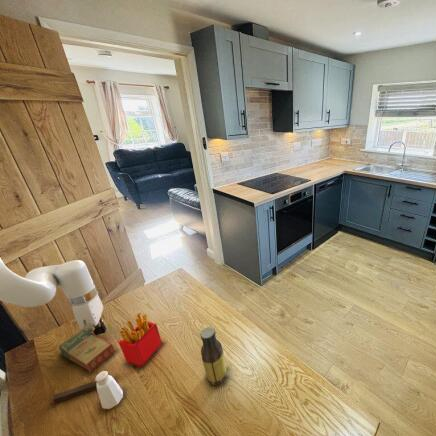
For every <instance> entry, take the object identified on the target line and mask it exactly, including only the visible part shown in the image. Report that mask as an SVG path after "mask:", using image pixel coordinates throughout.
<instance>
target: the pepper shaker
mask: <svg viewBox="0 0 436 436" xmlns="http://www.w3.org/2000/svg"><path fill="white" fill-rule="evenodd" d="M112 376H113V375H110V374H109V371H107V370H103V371H100V372H99V373H98V374H97V375H96V376H95V379H94V381H97V389H96V390H97V391H96V392H97V395H98V398H99V401H100V405H101V408H102V409H104V410H105V409H106V410H110V409H112V408H114V407H116V406H118V405H119V404H120V402H121V400H122V399H123V398H124V392H123V389H122V387H121V386H120V385H119V384H118V382H117V381H116V379H115V378H114V376H113V377H112Z"/></svg>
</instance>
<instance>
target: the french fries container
mask: <svg viewBox="0 0 436 436" xmlns="http://www.w3.org/2000/svg"><path fill="white" fill-rule="evenodd" d="M136 316H137V318H135V323H136V327H135V328H134V325H133V324H132V322H131V320H127V321H126V324H127V326H128V327H129V329H130V330H129V329H127V328H126V326H125V325H123V326H122V327H120V328H121V329H120V331H119V334H120V335H121V337H122V339H120V340H119V341H118V344H119V347H120V349H121V352H122V354H123V357H124V359H125V361H126V362H128V363H127V364H130V365H132V366H136V367H139V368H142V367H143V366H144V365H145V364H146V363H147V362H148V361H149V360H150V358H151V357H152V356H153V355H154V354H155V353H156V352H157V351H158V349H159V348H160V347H161V346H162V345H163V342H162V337H161V334H160V332H159V328H158V324H157V323H155V322H151V321H148V317H147V314H145V313H144V314H143V315H141V312H138V313H136Z"/></svg>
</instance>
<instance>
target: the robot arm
mask: <svg viewBox="0 0 436 436" xmlns="http://www.w3.org/2000/svg"><path fill="white" fill-rule="evenodd" d="M57 287H61V289H62V291H63V293H64V295H65V297H66V298H67V301H68V303H69V304H70V306H72V312H73V316H74V318H75V321H76V323H77V326H78V328H79V329H80V331H82V330H83V329H86V330H88V332H92V333H93V334H95V335H97V336H99V335H102V334H105V333H106V331H107V327H106V325H105V323H104V320H103V316H102V314H103V311H104V304H103V301H102V300H101V298H100V296H99V292H98V289H97V287H96V285H95V283H94V280H93V278H92V275H91V273H90V271H89V269H88V266H87V265H86V262H84V261H83V260H79V259H74V260H69V261H66V262H63V263H61V264H55V265H53V264H52V265H46V266H40V267H36V268H34V269H31V270H30V271H29V272H27V273H26V274H25V276H24V277H23V276H20V275H19V274H17V273H15V272H13V271H12V270H11V269H10V268H8V266H6V264H5V263H4V261H3V259H2V258H1V257H0V301H1V302H4V303H8V304H11V305H15V306H19V307H25V308H37V307H42V306H44V305H47V304H48V303H50V302H51V301H52V300H53V299H54V297H55V296H56V293H57V289H58V288H57Z"/></svg>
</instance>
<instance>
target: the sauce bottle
mask: <svg viewBox="0 0 436 436" xmlns="http://www.w3.org/2000/svg"><path fill="white" fill-rule="evenodd" d="M199 335H200V339H201V341H202V346H201V348H200V355H201V360H202V361H201V362H202V365H203V368H204V373H205V376H206V379H207V381H208V383H209V384H210V385H213V386H218V385H220V384H221V383H222V382H224V380H225V379H226V378H227V375H228V372H227V371H228V370H227V364H226V360H225V355H224V348H223V346H222V343H221V341H219V340H218V339H217V337H216V336H217V335H216V330H215V328H214V327H212V326H207V327H204V329H202V330H201V332H200V334H199Z"/></svg>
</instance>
